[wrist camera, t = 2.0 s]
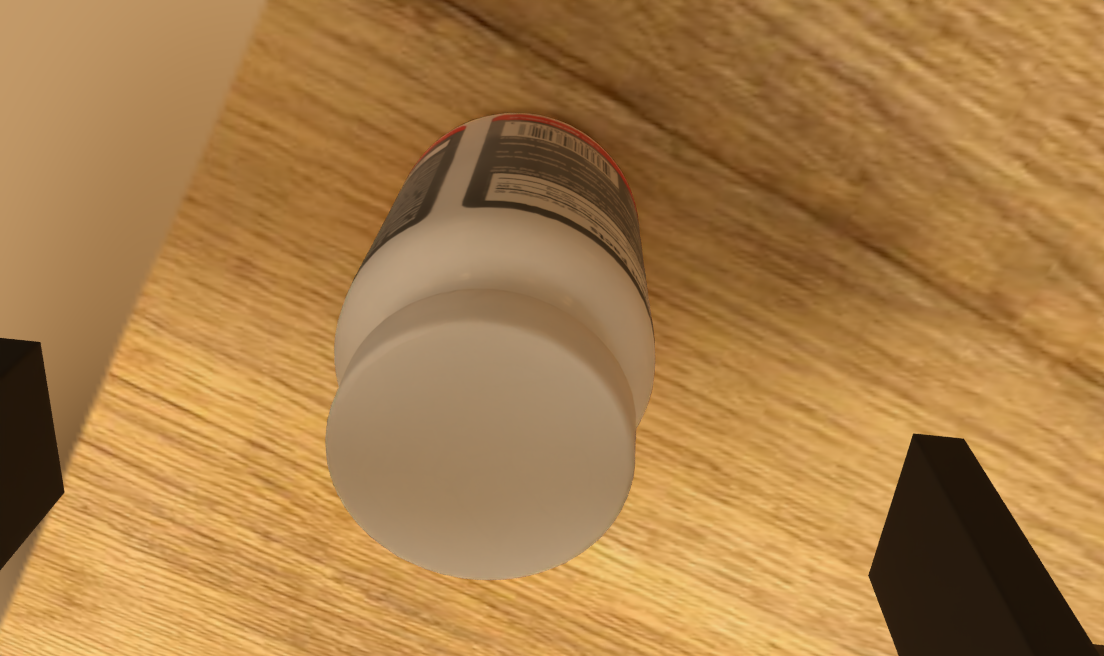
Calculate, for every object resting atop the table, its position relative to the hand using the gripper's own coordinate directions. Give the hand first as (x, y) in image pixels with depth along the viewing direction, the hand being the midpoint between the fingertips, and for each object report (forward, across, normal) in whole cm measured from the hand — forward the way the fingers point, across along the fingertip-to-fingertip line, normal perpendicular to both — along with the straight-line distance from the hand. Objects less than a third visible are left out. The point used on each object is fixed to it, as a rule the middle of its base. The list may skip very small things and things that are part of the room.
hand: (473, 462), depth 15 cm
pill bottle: (+10, 0, 0) cm, 10 cm away
